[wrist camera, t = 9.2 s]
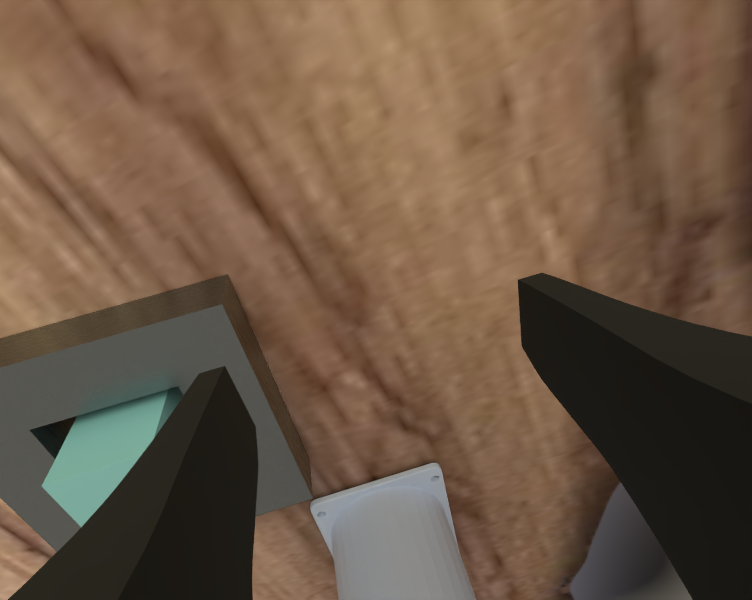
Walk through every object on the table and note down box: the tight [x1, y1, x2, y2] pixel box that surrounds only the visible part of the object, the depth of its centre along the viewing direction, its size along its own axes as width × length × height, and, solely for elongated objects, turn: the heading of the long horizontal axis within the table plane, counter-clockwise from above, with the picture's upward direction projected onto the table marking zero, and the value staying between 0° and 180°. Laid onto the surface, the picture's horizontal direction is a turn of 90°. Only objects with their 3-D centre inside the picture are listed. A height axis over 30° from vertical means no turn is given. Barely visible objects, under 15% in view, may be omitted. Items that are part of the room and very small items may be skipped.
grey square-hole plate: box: [0, 275, 313, 552], centre depth 21 cm, size 12×12×2 cm
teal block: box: [42, 386, 183, 527], centre depth 20 cm, size 4×4×5 cm
